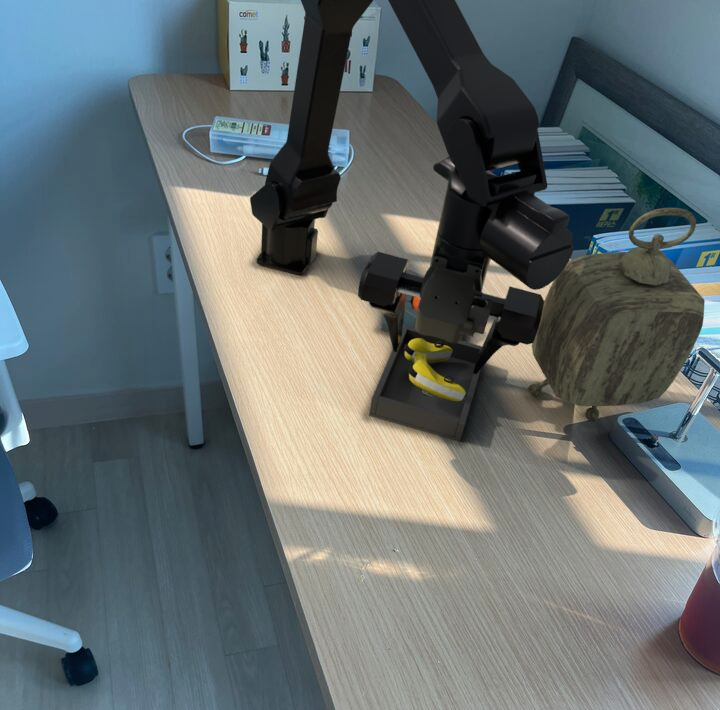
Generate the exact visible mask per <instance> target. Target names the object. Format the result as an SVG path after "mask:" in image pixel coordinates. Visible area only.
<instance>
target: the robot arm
mask: <svg viewBox="0 0 720 710" xmlns="http://www.w3.org/2000/svg"><path fill="white" fill-rule="evenodd" d="M387 1H388V3H389V5H390V7H391V9H392V11H393V13H394V14H395V16H396V19H397V20H398V22H399V24H400V26H401V28H402V30H403V32H404V33H405V35H406V37H407V39H408V41H409V43H410V45H411V47H412V49H413V51H414V52H415V54H416V56H417V59H418V60H419V62H420V64H421V66H422V67H423V70H424V72H425V73H426V75H427V77H428V79H429V81H430V83H431V85H432V87H433V90H434V92H435V95H436V97H437V109H436V126H437V128H438V131H439V133H440V136H441V139H442V142H443V144H444V146H445V150H446V152H447V154H448V156H447V157H446V158H445V159H443V160H441V161H439V162H436V163H434V164H433V171H434V172H435V173H436V174H437V175H439V176H441V177H442V178H443V179H444V180H446V181H447V186H446V190H445V194H444V200H443V204H442V209H441V214H440V218H439V222H438V227H437V232H436V237H435V241H434V246H433V250H432V255H431V259H430V265H429V267H428V269H427V270H426V271H425V274H424V276H423V277H422V276H419V275H416V274H411V273H408V269H409V264H410V262H409V259H408V258H403V257H400V256H397V255H393V254H389V253H385V252H381V251H377V252H375V253H374V254H372V255H371V256H370V258H369V260H368V262H367V264H366V266H365V267H364V269H363V271H362V273H361V276H360V279H359V283H358V288H357V289H358V290H357V297H358V298H359V299H360V300H361V301H364V302H368V304H369V306H370V308H372V309H374V310H378V311H379V312H380V313H381V314H382V315H383V318H384V317H385V320H386V323H387V326H388V330H389V332H388V334H389V339H390V342H391V347H392V350H393V351H394V352H397V351H398V348H399V345H400V341H401V336H402V329H403V320H404V312H405V303H406V294H407V295H410V296H414V297H418V298H421V299H420V302H419V305H418V310H417V316H416V323H415V329H416V331H417V332H418V333H419V334H421V335H425V336H428V335H429V336H433V337H436V338H440V339H444V340H446V341H447V342H450V343H456V342H459V341H460V340H461V339H462V340H463V338H464V336H465V335H466V336H470V337H471V338H472V337H474V336H475V334H480V335H484V333H485V331H486V328H487V324H488V320H489V317H490V316H491V317H494V320H493V322H492V324H491V326H490V328H489V330H488V332H487V335H486V337H485V339H484V341H483V344H482V345H481V346H482V348H481V350H480V353H479V355H478V358H477V361H476V365H475V368H474V371H473V374H477V373H478V372H479V371H480V372H481V370H482V368H483V367H484V366H485V365H486V364H487V363H488V362H489V360H490V359H491V358H492V357H493V356H494V355H495V353H496V352H498V351H499V350H500V349H501V348H503V347H504V346H512V347H517V346H519V344H523V345H527V346H528V345H532V343H533V342H534V339H535V337H536V334H537V331H538V328H539V325H540V321H541V316H542V311H543V306H544V300H545V299H544V298H543V296H542V294H541V293H536V292H533V291H537V290H542V289H544V288H546V287H547V286H549V285H550V284H552V283H553V281H554V280H555V279H556V278H557V277H558V276H559V275H560V273H561V272H562V271H563V269H564V268H565V267H566V265H567V263H568V262H569V260H571V258H572V255H573V252H574V249H575V248H574V246H573V245H574V236H573V233H572V232H571V231H570V230H569V229H568V225H569V222H570V219H571V217H570V215H569V214H567V213H566V212H564V211H563V210H561V209H560V208H556V207H553V206H551V205H550V204H548V203H547V202H545V201H544V200H542V199H540V198H539V197H537V196H536V195H535V194H536V193H539V192H542V191H546V190H547V189H548V180H547V174H546V169H545V168H546V165H545V162H544V158H543V151H542V147H541V141H540V136H539V127H540V120H539V116H538V113H537V110H536V108H535V106H534V105H533V103H532V102H531V101H530V99H529V98H528V97H527V95H526V94H525V92H524V91H523V89H522V88H521V87H520V86H519V84H518V83H517V82H516V80H515V79H514V78H513V77H511V76H510V75H508V74H507V73H505V72H504V71H502V70H501V69H500V68H499V67H497V66H495V65H494V64H492V63H491V62H490V60H489V59H488V58H487V56H486V55H485V54H484V51H483V50H482V47H481V46H480V45H479V43H478V41H477V39H476V37H475V35H474V33H473V31H472V29H471V27H470V26H469V24H468V21H467V20H466V18H465V16H464V14H463V12H462V11H461V9H460V7H459V5H458V3H457V1H456V0H387ZM300 2H301V5H302V7H303V10H304V22H303V28H302V29H303V31H302V34H301V35H302V36H301V40H300V41H301V43H300V49H299V54H298V63H297V69H296V75H295V82H294V90H293V96H292V104H291V108H290V110H291V111H290V117H289V122H288V129H287V136H286V141H285V143H284V144H283V145H282V147H281V148H280V149H279V150H278V152H276V154H275V155H274V157H273V158H272V160H271V161H270V162H269V166H268V170H267V174H266V178H265V181H264V185H263V186H262V187H261V188H260V189H258V190H257V191H256V192H255V193H254V194H252V195H251V196H250V197H249V202H250V210H251V215H252V216H253V217H254V218H255V219H256V220H258V222H259V223H260V224H261V245H260V247H261V248H260V251H261V252H260V253H259V254H258V256H257V258H256V259H255V260H256V262H255V263H256V264H257V265H261V266H265V267H268V268H272V269H276V270H279V271H282V272H285V273H286V272H287V273H289V274H290V273H291V274H294V275H297V276H301V275H303V274H304V272H305V271H306V270H307V268H308V267H309V266H311V264H312V263H313V261H314V260H315V259H316V256H317V247H318V235H319V230H318V229H317V228H315V224H316V220H318V219H325V218H326V216H327V214H328V211H329V210H330V209H331V207H332V206H333V204H334V203H336V202H338V189H339V185H340V183H341V180H342V178H341V177H342V176H341V174H340V172H338V171H337V170H336V168H335V166H334V165H333V162H332V159H331V157H330V155H329V151H330V144H331V140H332V139H331V138H332V134H333V130H334V129H333V128H334V123H335V120H336V119H335V118H336V115H337V114H336V113H337V110H338V109H337V108H338V104H339V98H340V95H341V94H340V93H341V88H342V84H343V80H344V79H343V78H344V75H345V69H346V63H347V58H348V53H349V50H350V49H349V48H350V43H351V39H352V34H353V33H352V32H353V30H354V27H355V25H356V24H357V22H358V21H359V20H360V19H361V18H362V16H363V15H364V13H365V12H366V11H367V10H368V8H369V7H370V6H371V4H372V3H373V2H374V0H300ZM516 164H517V167H518V168H519V169H518V170H519V171H514V172H511V173H507V174H503V175H499V176H497V175H496V174H494V173H493V172H491V171H492V170H496V169H500V168H504V167H508V166H509V167H510V166H512V165H516ZM491 261H492V262H494V263H496V264H497V265H498V266H499V267H500V268H501V269H503V270H504V271H506V272H508V273H509V274H510V275H511V276H513V277H514V278H515V279H517V280H519V282H521V283H522V284H524V285H525V286H526V287H528V288H529V289H531V290H533V291H529V290H525V289H521V288H519V287H514V286H511V285H510V286H509V287H508V289H507V293H506V295H505V297H500V296H497V295H493V294H489V293H485V292H483V289H484V288H483V287H484V285H485V280H486V277H487V274H488V270H489V266H490V264H491ZM463 334H464V335H463ZM462 337H463V338H462ZM480 369H481V370H480Z"/></svg>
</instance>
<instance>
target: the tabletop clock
mask: <svg viewBox="0 0 720 710" xmlns="http://www.w3.org/2000/svg"><path fill="white" fill-rule="evenodd" d="M663 216H676V217H683V218H684V219H687V221H688V222H689V226H690V227H689V230H688V231H687V233H685V235H682V236H680V237H679V238H675V239H671V240H667V241H664V240H665V237H664V235H662V234H660V233H656V234H653V237H652V239H651V241H645V240H641V239H638V238H637V237H636V236H634V235H635V230H636V229H637V228H638V227H639V226H640V225H641V224H643V223H644V222H646V221H647V220H650V219H653V218H655V217H663ZM696 223H697V219H696V217H695V216H694V214H693V213H691V211H689V210H687V209H685V208H679V207H662V208H656V209H653V210H651V211H648V212H646V213H644V214H643V215H641V216H639V217H638V218H637V219H636V220H635V221H634V222H633V223H632V224H631V226H630V228H629V230H628V239H629V241H630V242H631V244H632V245H634V246H636V247H634V248H631V249H629V250H627V251H617V252H615V251H614V252H601V253H591V254H586V255H581V256H578V257H575V258H572V259H570V260H569V262H568V263H567V265H566V267H565V268H564V269H563V271H562V272H561V273H560V275H559V276H558V277H557V278H556V279H555V280H554V281H552V282H551V285H550V287H549V289H548V292H547V294H546V296H545V298H544V299H543V300H544V306H543V311H542V316H541V321H540V325H539V328H538V331H537V334H536V337H535V339H534V342H533V343H531V351H532V356H533V357H534V360H535V361H536V363H537V364H538V366H539V368H540V370H541V372H542V374H543V375H544V378H545V379H544V380H543V381H541V382H539V381H532V382H530V383H529V385H528V392H529V393H530V395H533V396H537V395H540V394H541V393H542V391H543V389H544V388H543V387H546V386H550V388H551V390H552V391H553V394H554V395H555V397H556V398H558V399H560V400H562V401H566V402H568V403H571V404H573V405H576V406H580V407H588V408H587V409H586V410H585V413H584V416H585V418H586V419H587V421H591V422H594V421H596V420H598V419H599V417H600V415H601V413H600V410H599V409H598V407H616V406H625V405H637V404H644V403H649V402H652V401H655V400H658V399H660V398H661V397H662V395H664V394H665V393H666V392H667V390H668V389H669V388H670V387H671V385H672V384H673V382H674V381H675V380H676V378H677V376H678V374H679V373H680V371H681V370H682V368H683V367H684V365H685V364H686V362H687V360H688V358H689V356H690V354H691V352H692V350H693V348H694V347H695V345H696V342H697V340H698V338H699V336H700V334H701V331H702V328H703V325H704V317H705V301H706V299H704V297H703V295H701V294H700V293H699V292H698V290H697V289H696V288H695V287H694V286H693V284H691V282H690V280H688V278H687V277H686V276H685V275H684V274H683V273H682V272H681V271H680V269H679V268H678V267H677V266H676V265H675V264H674V262H673V261H672V260H671V259H669V258H668V256H667V255H666V253H664V251H662V250H664V249H670V248H673V247H676V246H679V245H681V244H683V243H684V242H685V241H687V240H689V238H690V237H691V236H692V235H693V234H694V233H695V229H696V226H697V224H696Z"/></svg>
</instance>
